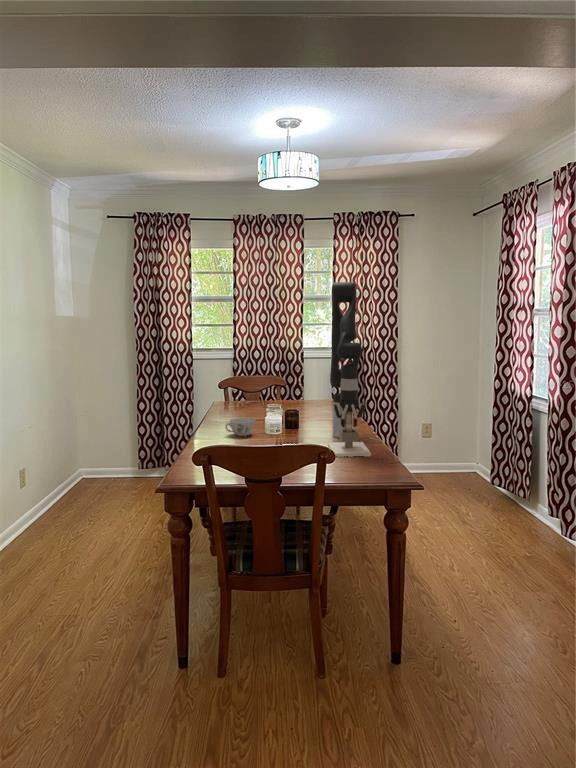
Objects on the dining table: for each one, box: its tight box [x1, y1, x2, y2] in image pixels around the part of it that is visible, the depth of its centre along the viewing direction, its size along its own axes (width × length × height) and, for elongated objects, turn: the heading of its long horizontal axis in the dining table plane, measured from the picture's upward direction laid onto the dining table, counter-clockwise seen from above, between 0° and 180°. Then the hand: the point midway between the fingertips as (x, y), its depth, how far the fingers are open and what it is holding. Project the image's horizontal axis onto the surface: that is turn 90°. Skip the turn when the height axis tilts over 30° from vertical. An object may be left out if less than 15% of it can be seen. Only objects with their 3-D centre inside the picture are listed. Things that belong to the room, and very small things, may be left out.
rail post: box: [345, 411, 353, 432], centre depth 256 cm, size 3×3×12 cm
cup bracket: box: [327, 428, 372, 458], centre depth 257 cm, size 20×16×9 cm
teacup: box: [225, 417, 256, 437], centre depth 288 cm, size 15×12×8 cm
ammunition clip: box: [274, 435, 299, 446], centre depth 232 cm, size 11×2×12 cm, turn 117°
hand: (348, 426), depth 256 cm, fingers open, 4 cm apart
